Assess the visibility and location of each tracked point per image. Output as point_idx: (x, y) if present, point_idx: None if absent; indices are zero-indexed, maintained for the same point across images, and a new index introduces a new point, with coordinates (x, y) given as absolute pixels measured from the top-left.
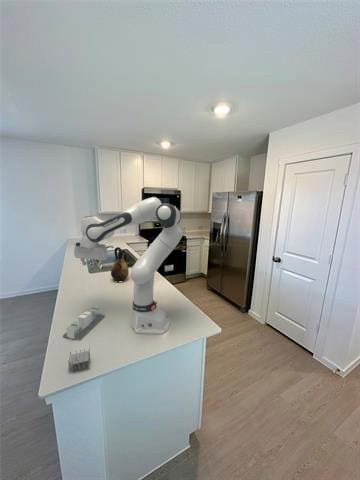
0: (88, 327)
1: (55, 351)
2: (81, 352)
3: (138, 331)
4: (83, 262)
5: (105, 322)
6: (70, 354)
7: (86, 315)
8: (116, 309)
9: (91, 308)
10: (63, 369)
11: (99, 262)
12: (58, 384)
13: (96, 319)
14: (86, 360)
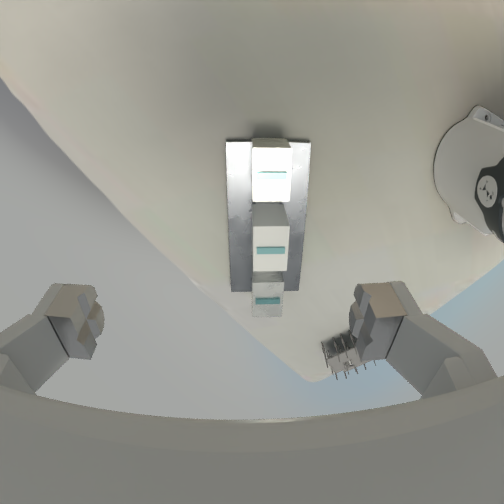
0: (291, 239)
1: (256, 328)
2: (348, 350)
3: (463, 222)
4: (64, 357)
5: (334, 180)
6: (326, 361)
7: (282, 254)
8: (334, 67)
9: (256, 179)
10: (314, 354)
11: (428, 385)
12: (326, 372)
13: (293, 185)
14: (369, 360)
